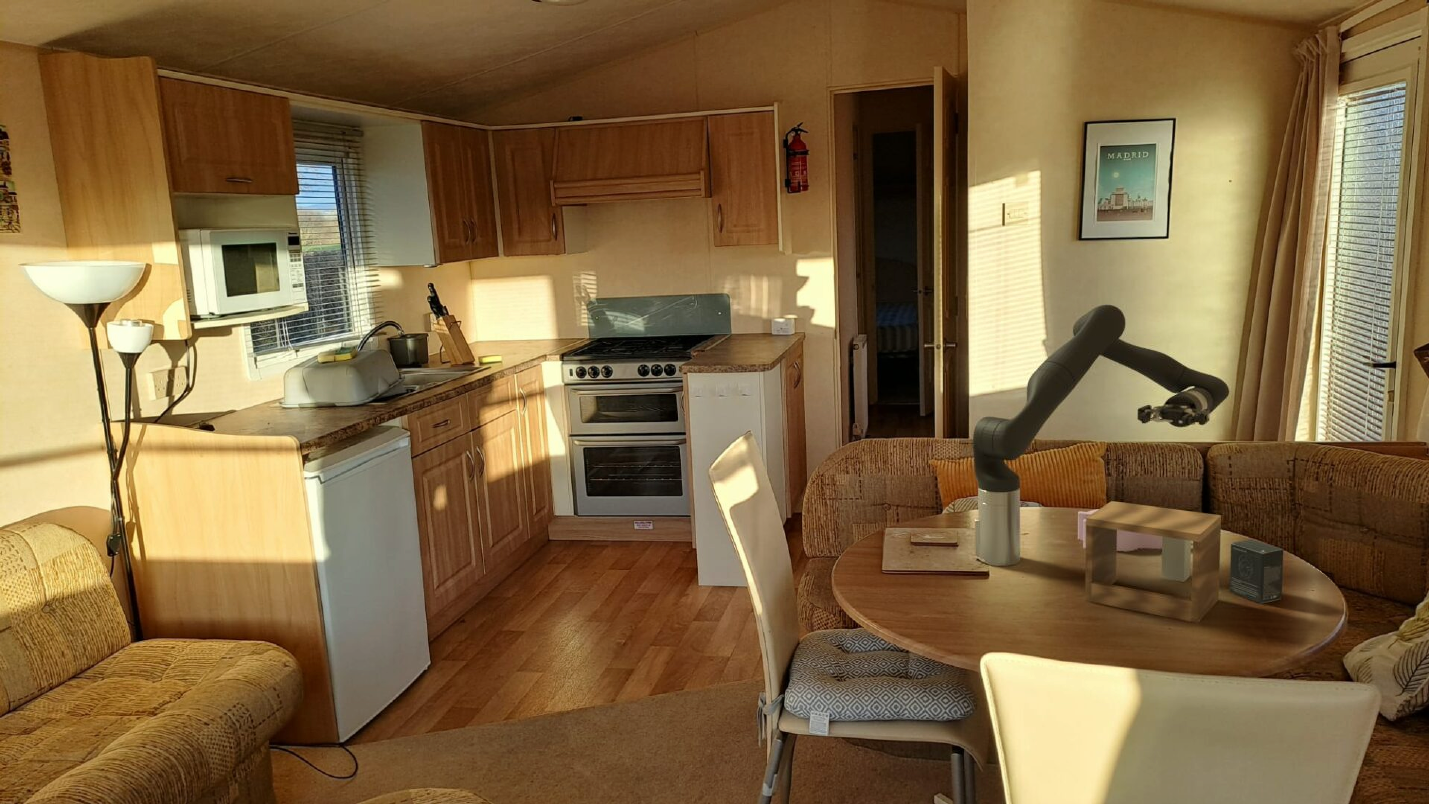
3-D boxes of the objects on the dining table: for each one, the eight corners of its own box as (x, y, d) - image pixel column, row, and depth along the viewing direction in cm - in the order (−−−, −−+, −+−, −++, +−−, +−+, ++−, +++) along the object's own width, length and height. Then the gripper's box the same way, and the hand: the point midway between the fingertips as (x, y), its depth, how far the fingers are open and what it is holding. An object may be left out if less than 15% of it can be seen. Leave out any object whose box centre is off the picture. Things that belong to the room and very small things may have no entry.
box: (1282, 599, 202) (1284, 548, 200) (1260, 604, 200) (1262, 553, 198) (1249, 587, 209) (1251, 538, 207) (1228, 592, 207) (1230, 542, 206)
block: (1161, 578, 217) (1162, 524, 215) (1168, 572, 220) (1169, 518, 218) (1183, 582, 214) (1185, 527, 212) (1190, 575, 217) (1191, 521, 215)
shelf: (1085, 600, 207) (1086, 518, 204) (1110, 580, 217) (1111, 501, 214) (1197, 622, 193) (1200, 534, 190) (1218, 599, 204) (1221, 515, 201)
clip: (1162, 535, 245) (1162, 508, 244) (1176, 552, 233) (1177, 523, 232) (1075, 536, 248) (1075, 508, 247) (1085, 552, 236) (1086, 523, 235)
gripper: (1153, 390, 238) (1130, 401, 226) (1219, 394, 229) (1198, 406, 217) (1153, 421, 240) (1129, 434, 228) (1218, 426, 231) (1197, 440, 218)
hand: (1163, 420), depth 222 cm, fingers open, 8 cm apart
